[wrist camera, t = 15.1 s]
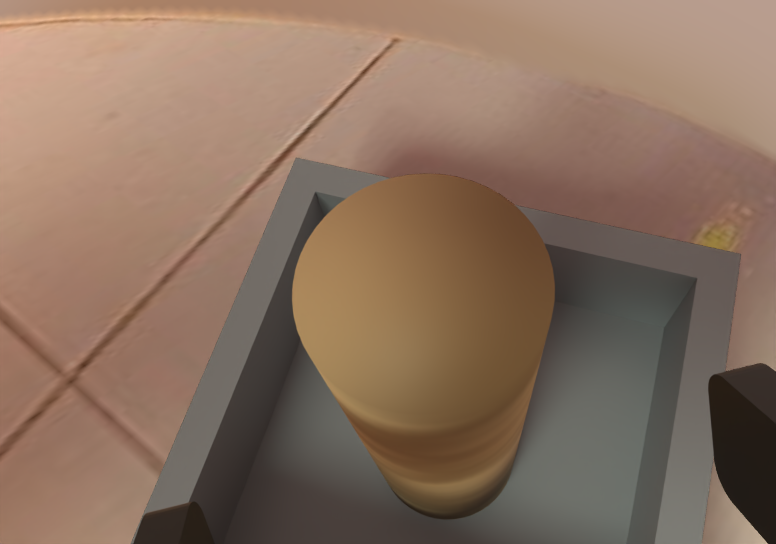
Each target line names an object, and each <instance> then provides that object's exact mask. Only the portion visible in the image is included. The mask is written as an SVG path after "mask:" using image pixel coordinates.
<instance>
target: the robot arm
mask: <svg viewBox="0 0 776 544" xmlns="http://www.w3.org/2000/svg"><path fill="white" fill-rule="evenodd" d="M708 394H709V406H710V417H711V429H712V440H713V452H714V462H715V467H716V471H717V474H718V477H719V480H720V482H721V484H722V486H723V489H724V491H725V492H726V494H727V496H728V497H729V499H730V500H731V501H732V503H733V504H734V505H735V506H736V507H737V508H738V510H739V511H740V512H741V513H742V514H743V515H744V517H745V518H746V519H747V520H748V521H749V522H750V523H751V525H752V526H753V527H754V528H755V529H756V530H757V531H758V533H759V534H760V535H761V536H762V537H763V538H764V539H765V541H766V542H767V543H768V544H776V372H775V371H774V370H773V369H772V368H770V367H769V366H767V365H766V364H763V363H758V364H754V365H750V366H746V367H742V368H738V369H734V370H730V371H726V372H722V373H718V374H714V375H712V376H711V377H710V379H709V383H708ZM133 544H215V543H214V540H213V538H212V535H211V532H210V530H209V527H208V524H207V522H206V519H205V516H204V514H203V511H202V509H201V507H200V506H199V504H198V503H197V502H195V501H194V502H189V503H185V504H181V505H177V506H173V507H169V508H165V509H161V510H157V511H152V512H148V513H146V514H145V515H144V516H143V518H142V520H141V523H140V526H139V529H138V531H137V534H136V537H135V540H134V543H133Z"/></svg>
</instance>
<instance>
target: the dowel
mask: <svg viewBox="0 0 776 544" xmlns="http://www.w3.org/2000/svg"><path fill="white" fill-rule="evenodd" d="M554 301H555V282H554V274H553V268H552V264H551V261H550V257H549V254H548V251H547V249H546V247H545V244H544V242H543V240H542V238H541V237H540V235H539V233H538V232H537V230H536V228H535V227H534V225H533V224H532V223H531V222H530V221H529V219H528V218H527V217H526V216H525V214H524V213H523V212H521V211H520V210H519V209H518V208H517V207H516V206H515V205H514V204H513V203H512V202H510V201H509V200H507V199H506V198H505V197H503V196H502V195H500V194H499V193H497V192H495V191H493V190H491V189H490V188H488V187H486V186H483V185H481V184H478V183H476V182H474V181H471V180H467V179H463V178H460V177H456V176H449V175H443V174H411V175H404V176H399V177H393V178H390V179H386V180H383V181H380V182H377V183H375V184H372V185H370V186H368V187H365V188H363V189H361V190H359V191H358V192H356V193H354V194H352V195H351V196H349V197H348V198H346V199H345V200H344V201H342V202H341V203H339V204H338V205H337V206H336V207H335V208H333V209H332V210H331V211H330V212H329V213H328V214H327V215H326V216H325V217H324V218H323V219H322V221H321V222H320V223H319V224H318V225H317V227H316V228H315V229H314V231H313V232H312V234H311V235H310V237H309V238H308V240H307V242H306V244H305V246H304V248H303V250H302V252H301V254H300V257H299V260H298V263H297V266H296V269H295V275H294V280H293V288H292V305H293V315H294V319H295V323H296V328H297V331H298V334H299V336H300V339H301V341H302V344H303V346H304V348H305V349H306V351H307V353H308V354H309V356H310V358H311V360H312V361H313V363H314V364H315V366H316V368H317V369H318V371H319V373H320V374H321V376H322V377H323V379H324V381H325V382H326V384H327V386H328V387H329V389H330V390H331V392H332V394H333V395H334V397H335V399H336V400H337V402H338V403H339V405H340V407H341V408H342V410H343V412H344V413H345V415H346V416H347V418H348V420H349V421H350V423H351V425H352V426H353V428H354V429H355V431H356V433H357V434H358V436H359V438H360V439H361V441H362V442H363V444H364V446H365V447H366V449H367V451H368V452H369V454H370V455H371V457H372V459H373V460H374V462H375V464H376V465H377V467H378V468H379V470H380V472H381V473H382V475H383V477H384V478H385V480H386V481H387V483H388V485H389V486H390V488H391V490H392V491H393V492H394V494H395V495H396V496H397V497H398V498H399V499H400V500H401V501H402V502H403V503H404V504H405V505H407V506H408V507H409V508H411V509H412V510H414V511H416V512H418V513H420V514H422V515H425V516H427V517H431V518H435V519H444V520H450V519H459V518H464V517H467V516H471V515H473V514H475V513H477V512H480V511H481V510H483V509H484V508H486V507H487V506H489V505H490V504H491V503H492V502H493V501H494V500H495V499H496V498H497V497H498V496H499V495H500V493H501V492H502V490H503V489H504V487H505V486H506V484H507V481H508V479H509V477H510V474H511V471H512V467H513V463H514V460H515V456H516V452H517V448H518V444H519V440H520V437H521V433H522V429H523V425H524V421H525V418H526V414H527V410H528V406H529V402H530V399H531V395H532V391H533V387H534V383H535V379H536V376H537V372H538V368H539V364H540V360H541V357H542V353H543V349H544V345H545V341H546V337H547V334H548V330H549V326H550V322H551V318H552V313H553V307H554Z"/></svg>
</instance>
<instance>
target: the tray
mask: <svg viewBox="0 0 776 544" xmlns="http://www.w3.org/2000/svg"><path fill="white" fill-rule="evenodd" d="M386 179H390V178H388V177H383V176H379V175H374V174H370V173H365V172H360V171H356V170H351V169H346V168H342V167H337V166H333V165H328V164H323V163H319V162H314V161H310V160H305V159H300V158H296V159H295V161H294V163H293V166H292V168H291V170H290V173H289V175H288V177H287V180H286V182H285V184H284V187H283V189H282V191H281V194H280V196H279V198H278V201H277V203H276V205H275V208H274V210H273V212H272V215H271V217H270V219H269V222H268V224H267V226H266V229H265V231H264V233H263V236H262V238H261V240H260V243H259V245H258V247H257V250H256V252H255V254H254V257H253V259H252V261H251V264H250V266H249V268H248V271H247V273H246V275H245V278H244V280H243V282H242V285H241V287H240V289H239V292H238V294H237V296H236V299H235V301H234V303H233V306H232V308H231V310H230V313H229V315H228V317H227V320H226V322H225V324H224V327H223V329H222V331H221V334H220V336H219V338H218V341H217V343H216V346H215V348H214V350H213V353H212V355H211V357H210V360H209V362H208V364H207V367H206V369H205V371H204V374H203V376H202V378H201V381H200V383H199V385H198V388H197V390H196V392H195V395H194V397H193V399H192V402H191V404H190V406H189V409H188V411H187V413H186V416H185V418H184V420H183V423H182V425H181V427H180V430H179V432H178V434H177V437H176V439H175V441H174V444H173V446H172V448H171V451H170V453H169V455H168V458H167V460H166V462H165V465H164V467H163V469H162V472H161V474H160V476H159V479H158V481H157V483H156V486H155V488H154V490H153V493H152V495H151V497H150V500H149V502H148V504H147V507H146V509H145V511H144V514H143V516H144V515H145V514H146V513H148V512H152V511H157V510H161V509H165V508H169V507H173V506H177V505H181V504H185V503H189V502H194V501H195V502H197V503H198V504H199V506H200V507H201V509H202V511H203V514H204V516H205V519H206V522H207V524H208V527H209V530H210V532H211V535H212V538H213V540H214V543H215V544H702V538H703V530H704V523H705V516H706V508H707V501H708V494H709V486H710V479H711V472H712V464H713V457H714V452H713V440H712V429H711V417H710V406H709V394H708V383H709V379H710V377H711V376H712V375H714V374H718V373H722V372H725V369H726V362H727V355H728V347H729V340H730V333H731V325H732V318H733V311H734V303H735V296H736V289H737V281H738V274H739V267H740V259H741V254H739V253H734V252H730V251H725V250H720V249H716V248H711V247H706V246H702V245H697V244H693V243H688V242H683V241H679V240H674V239H670V238H665V237H660V236H656V235H651V234H646V233H642V232H637V231H633V230H628V229H623V228H619V227H614V226H610V225H605V224H600V223H596V222H591V221H586V220H582V219H577V218H573V217H568V216H563V215H559V214H554V213H550V212H545V211H540V210H536V209H531V208H526V207H522V206H517V205H515V206H516V207H517V208H518V209H519V210H520V211H521V212H523V213H524V214H525V216H526V217H527V218H528V219H529V221H530V222H531V223H532V224H533V225H534V227H535V228H536V230H537V232H538V233H539V235H540V237H541V238H542V240H543V242H544V244H545V247H546V249H547V251H548V254H549V257H550V261H551V264H552V268H553V274H554V282H555V301H554V307H553V313H552V318H551V322H550V326H549V330H548V334H547V337H546V341H545V345H544V349H543V353H542V357H541V360H540V364H539V368H538V372H537V376H536V379H535V383H534V387H533V391H532V395H531V399H530V402H529V406H528V410H527V414H526V418H525V421H524V425H523V429H522V433H521V437H520V440H519V444H518V448H517V452H516V456H515V460H514V463H513V467H512V471H511V474H510V477H509V479H508V481H507V484H506V486H505V487H504V489H503V490H502V492H501V493H500V495H499V496H498V497H497V498H496V499H495V500H494V501H493V502H492V503H491V504H490V505H489V506H487V507H486V508H484V509H483V510H481V511H480V512H477V513H475V514H473V515H471V516H467V517H464V518H459V519H450V520H444V519H435V518H431V517H427V516H425V515H422V514H420V513H418V512H416V511H414V510H412V509H411V508H409V507H408V506H407V505H405V504H404V503H403V502H402V501H401V500H400V499H399V498H398V497H397V496H396V495H395V494H394V492H393V491H392V490H391V488H390V486H389V485H388V483H387V481H386V480H385V478H384V477H383V475H382V473H381V472H380V470H379V468H378V467H377V465H376V464H375V462H374V460H373V459H372V457H371V455H370V454H369V452H368V451H367V449H366V447H365V446H364V444H363V442H362V441H361V439H360V438H359V436H358V434H357V433H356V431H355V429H354V428H353V426H352V425H351V423H350V421H349V420H348V418H347V416H346V415H345V413H344V412H343V410H342V408H341V407H340V405H339V403H338V402H337V400H336V399H335V397H334V395H333V394H332V392H331V390H330V389H329V387H328V386H327V384H326V382H325V381H324V379H323V377H322V376H321V374H320V373H319V371H318V369H317V368H316V366H315V364H314V363H313V361H312V360H311V358H310V356H309V354H308V353H307V351H306V349H305V348H304V346H303V344H302V341H301V339H300V336H299V334H298V331H297V328H296V323H295V319H294V315H293V305H292V288H293V280H294V275H295V269H296V266H297V263H298V260H299V257H300V254H301V252H302V250H303V248H304V246H305V244H306V242H307V240H308V238H309V237H310V235H311V234H312V232H313V231H314V229H315V228H316V227H317V225H318V224H319V223H320V222H321V221H322V219H323V218H324V217H325V216H326V215H327V214H328V213H329V212H330V211H331V210H332V209H333V208H335V207H336V206H337V205H338V204H339V203H341V202H342V201H344V200H345V199H346V198H348V197H349V196H351V195H352V194H354V193H356V192H358V191H359V190H361V189H363V188H365V187H368V186H370V185H372V184H375V183H377V182H380V181H383V180H386ZM143 516H142V518H143ZM142 518H141V520H142ZM140 523H141V521H140ZM140 523H139V525H138V528H137V530H136V532H135V535H134V537H133V539H132V542H131V544H133V543H134V540H135V537H136V534H137V531H138V529H139V526H140Z"/></svg>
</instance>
